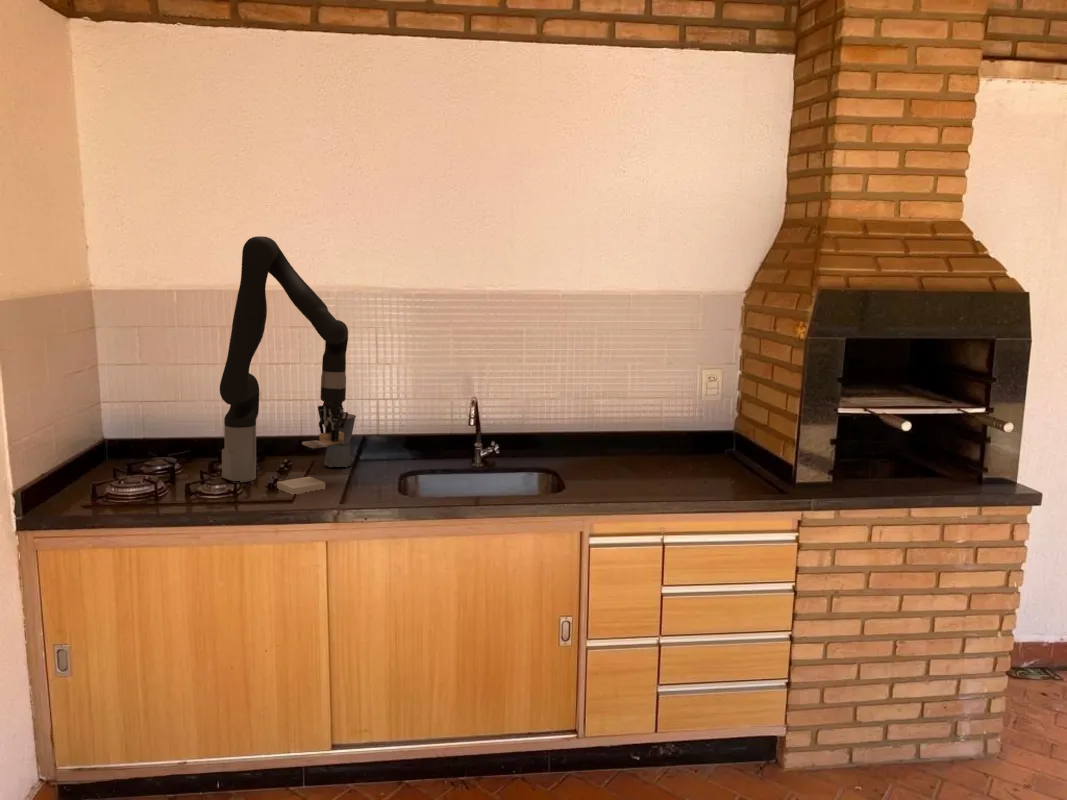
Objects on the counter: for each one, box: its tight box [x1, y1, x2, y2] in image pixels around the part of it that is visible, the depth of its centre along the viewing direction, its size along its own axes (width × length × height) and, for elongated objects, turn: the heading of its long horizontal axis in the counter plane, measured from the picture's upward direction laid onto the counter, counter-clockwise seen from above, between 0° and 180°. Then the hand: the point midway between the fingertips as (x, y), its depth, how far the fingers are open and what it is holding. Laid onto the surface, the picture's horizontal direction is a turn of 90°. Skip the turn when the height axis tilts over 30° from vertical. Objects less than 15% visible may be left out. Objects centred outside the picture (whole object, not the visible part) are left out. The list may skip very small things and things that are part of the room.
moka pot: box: [318, 408, 357, 468], centre depth 273 cm, size 10×15×20 cm, turn 148°
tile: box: [276, 476, 326, 496], centre depth 245 cm, size 2×9×11 cm
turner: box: [301, 431, 344, 449], centre depth 249 cm, size 12×6×3 cm, turn 137°
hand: (331, 440), depth 251 cm, fingers closed on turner, 2 cm apart
